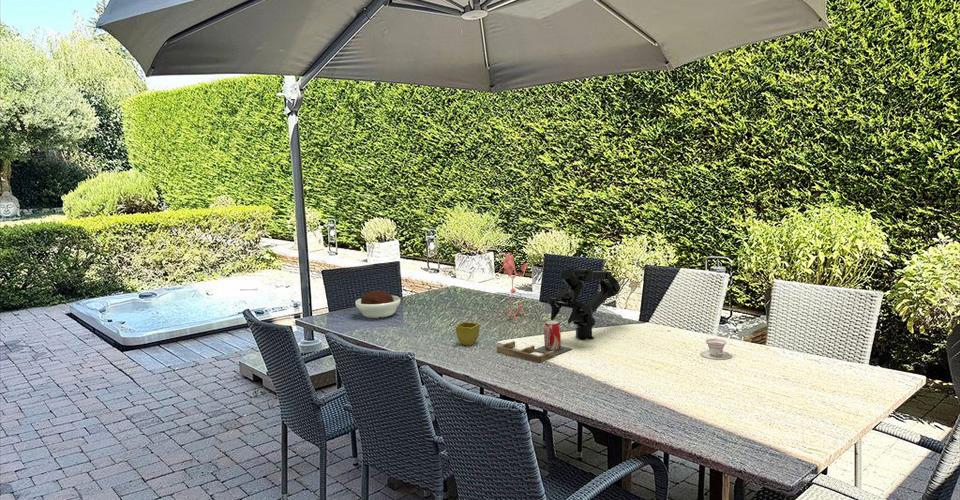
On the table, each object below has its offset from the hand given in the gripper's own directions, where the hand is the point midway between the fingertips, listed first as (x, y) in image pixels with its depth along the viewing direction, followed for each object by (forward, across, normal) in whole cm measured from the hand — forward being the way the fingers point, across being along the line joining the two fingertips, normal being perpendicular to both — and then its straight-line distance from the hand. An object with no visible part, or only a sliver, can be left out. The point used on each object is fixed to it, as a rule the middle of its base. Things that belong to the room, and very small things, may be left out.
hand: (559, 321), depth 260 cm
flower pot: (+24, -36, -7) cm, 44 cm away
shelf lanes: (+21, -5, -4) cm, 22 cm away
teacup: (-12, +57, +30) cm, 65 cm away
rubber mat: (+13, 0, +4) cm, 13 cm away
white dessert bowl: (+19, -116, -3) cm, 117 cm away
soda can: (+12, 0, +4) cm, 13 cm away
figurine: (-11, -55, +27) cm, 62 cm away
